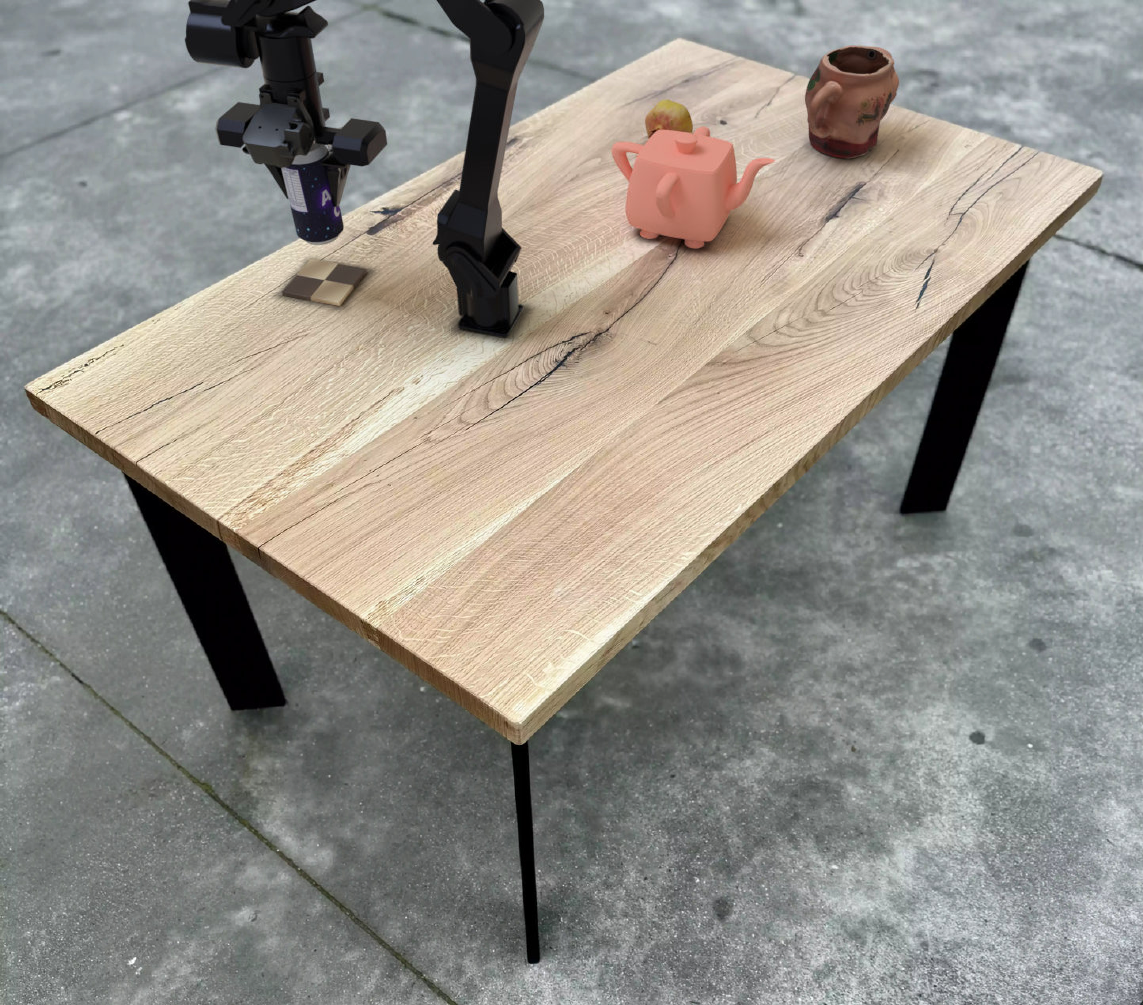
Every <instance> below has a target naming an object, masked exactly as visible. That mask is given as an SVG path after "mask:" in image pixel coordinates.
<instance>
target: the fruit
mask: <svg viewBox="0 0 1143 1005" xmlns="http://www.w3.org/2000/svg"><path fill="white" fill-rule="evenodd" d="M644 125H645V130H646V135H647V138H648V140H649V139H650V137H651V136H652V135H653V134H654V133H655V132H656V131H657V130H672V131H680V132H687V133H693V130H694V124H693V120H692V116H691V114H690V112H689V110H688V108H687V107H686V106H685V105H683V104H681V103H680V102H677V101H674V100H671V99H662V100H660V101H658V102H657V103H656V104H655V105H654V107H653V108H652V109H651V110H650V111H648V113H647V114H646V116H645V119H644Z"/></svg>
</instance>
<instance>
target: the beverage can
mask: <svg viewBox="0 0 1143 1005" xmlns="http://www.w3.org/2000/svg"><path fill="white" fill-rule="evenodd" d="M328 155H329V150H328V146H327V145H322V144H316V143H313V144H312V146H311V148H310V150H309V152H308V154H307V155H306V156H302V155H297V156H296V157H295V158H294V161H293V163H292V164H291V165H290V166H288V167H285V168H281V169H282V173H283V178H284V182H285V186H286V190H287V194H288V199H287V200H288V202H289V207H290V212H291V215H292V219H293V224H294V227H295V232H296V235H297V237H298V238H299V239H300V240H303V241H305V242H306V243H307V244H309V245H313V246H325V245H328V244H331V243H333V242H334V241H336V240H337V239H338V238H339V236H340V235H341V233H342V232H343V231H344V228H345V226H344V220H343V215H342V211H341V205H340V204H339V205H338V206H337V207H334V206H333V203H332V200H331V195H330V188H329V181H328V174H327V170H326V169H325V168H324V167H323V166H322V165H321V162H322V161H323V160H324V159H325V158H326V157H327V156H328Z"/></svg>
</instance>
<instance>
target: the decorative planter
mask: <svg viewBox="0 0 1143 1005" xmlns="http://www.w3.org/2000/svg"><path fill="white" fill-rule="evenodd" d="M899 86H900V77H899V75H898V74H897V72H896V69H895V60H894V58H893V56H892V53H891V52H889V51H888V50H887V49H884V48H882V47H880V46H866V45H853V44H851V45H847V46H843V47H840V48H836V49H833V50H831V51H828V52H827V53H826V54H824V55H823V56H822V57H821V59H820V61H819V63H818V66H817V67H816V68H815V70H814V72H813V73H812V75H811V77H810V78H809V80H808V83H807V85H806V89H805V93H804V103H805V109H806V113H807V118H806V119H807V124H808V125H807V126H808V139H809V144H810V146H811V147H812V148H813V149H815V150H816V151H817V152H821V153H822V154H824V155H827V156H832V157H835V158H841V159H855V158H858V157H861V156H864V155H866V154H868V153H869V152H870V151H871V150H872V149H873V148H875V147H876V146H877V144H878V138H879V130H880V126H881V122H882V120H883V119H884V118H885V116H886V115H887V113H888V112H889V109H890V106H891V104H892V102H894V100H895V99H896V97H897V92H898V90H899V89H898V88H899Z"/></svg>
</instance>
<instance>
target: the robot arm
mask: <svg viewBox="0 0 1143 1005" xmlns="http://www.w3.org/2000/svg"><path fill="white" fill-rule="evenodd" d="M316 1H317V0H189V1H188V2H187V4H188V8H189V14H188V16H187V19H186V24H185V37H184V43H185V47H186V50H187V53H188V54H189V57H190V58H191V59H192V60H193V61H194V62H196V63H199V64H207V65H215V66H222V67H232V68H238V69H239V68H240V69H249V68H250V67H252V66H253V64H254V63H255V61H256V60H258V59H259V63H260V67H261V72H262V78H263V82H264V84H262V85H261V86H260V87H259V88H258V91H259V93H258V99H259V104H255V103H249V102H242V101H238V102H236V103H235V104H234V105H233V106H232V107H230V108H229V109H228V110H227V111H225V112H224V113H223V114H221V116H220V117H219V118H217V120H216V124H215V127H214V128H215V134H216V137H217V141H218V143H219V145H220V146H225V147H232V148H239V149H241V150H242V152H243V153H244V154H245V155H250V157H251V160H252V161H253V163H254V164H257V165H263V164H264V166H265V167H266V168H267V170H268V171H269V173H270V174H271V176H272V177H273V179H274V181H275V182H276V184H277V186H278V187H279V189H280V190H281V192H282V194H283V195H284V197H285V198H286V199H287V200H289V199H288V194H287V190H286V186H285V182H284V178H283V173H282V169H281V168H285V167H288V166H290V165H291V164H292V163H293V161H294V158H295V157H296V156H297V155H302V156H306V155H307V154H308V152H309V150H310V148H311V146H312V144H313V143H316V144H322V145H325V146H327V148H328V150H329V155H328V156H327V157H326V158H325V159H324V160H323V161H322V162H321V165H322V166H323V167H324V168H325V169H326V170H327V174H328V181H329V188H330V195H331V200H332V203H333V206H334V207H337V206H338V205H340V204H341V202H342V198H343V194H344V190H345V187H346V184H347V179H348V176H349V172H350V169H351V166H357V167H366V166H369V165H371V163H373V161H374V160H375V159H376V158H377V156H379V154H380V153H381V152H382V151H383V150H384V149H385V148H386V147H387V146H388V138H387V131H386V129H385V127H384V126H383V125H382V124H381V123H380V122H379V121H373V120H366V119H360V118H353V117H352V118H350V119H349V120H348V121H347V122H346V123H345V124H344V125H343V126H341V127H339V128H337V127H331V126H326V122H327V121H328V120H329V119H330V118H331V114H330V108H328V107H323V101H322V96H321V89H320V86H322V84H324V83H325V78H324V77H325V76H324V72H321V71H317V67H316V60H315V53H314V48H313V43H312V39H315V38H316V37H317V36H319V34H321V33H322V32H323V31H324V30H325V29H326V28H328V26H329V21H328V20H327V19H326V18H325V17H323V16H322V15H321V14H319V13H317V12H316V11H315V10H314V9H313V8H312V6H310V5H309V4H311V3H313V2H316ZM436 3H438V5H439V6H440V8H441V9H442V11H443V12H444V14H445V15H446V16H447V18H448V19H449V21H450V23H451V24H452V25H453V26H454V28H457V29H458V30H459V31H460V32H461V33H462V34H464V35H465V36H466V37H467V38H468V39H469V58H470V63H471V66H472V70H473V75H474V78H475V87H474V93H473V101H472V105H471V111H470V112H471V113H470V118H469V124H468V125H469V126H468V132H467V139H466V144H465V152H464V157H463V163H462V170H461V176H460V184H459V190H458V189H456V188H455V189H454V190H453V191H452V193H451V195H450V196H449V197H448V199H447V200H446V202H445V203H444V204H443V206H442V207H441V208H440V210H439V211H438V213H437V217H436V235H435V238H434V239H433V241H432V245H433V246H437V249H436V250H437V252H436V253H437V257H438V260H439V261H440V262H442V264H443V265H444V267H446V268H447V271H448V272H449V275H450V277H451V279H452V281H453V283H454V286H455V288H456V298H457V310H458V315H459V317H461V318H460V319H459V321H458V322H457V328H458V329H459V330H464V331H470V332H475V333H480V334H485V335H490V336H495V337H501V338H507V337H509V335H510V334H511V332H512V330H513V328H514V327H515V325H516V324H517V322H518V320H519V319H520V317H521V315H522V313H523V312H524V305H523V304H520V303H519V287H518V272H515V271H512V268H513V266H514V265H515V263H517V261H518V259H519V256H520V254H521V251H522V246H521V244H519V243H518V242H517V241H516V240H515V239H514V238H513V236H511V235H510V234H509V233H508V232H507V231H506V230H505V229H504V227H503V209H502V207H501V203H500V199H499V195H498V194H499V186H500V180H501V176H502V170H503V166H504V159H505V154H506V149H507V145H508V144H507V143H508V139H509V138H508V137H509V133H510V127H511V122H512V116H513V111H514V105H515V100H516V96H517V88H518V84H519V80H520V77H521V75H522V73H523V70H524V69H525V66H526V64H527V63H528V62H527V61H528V59H529V58H530V55H531V53H532V51H533V48H534V46H535V43H536V41H537V38H538V36H539V34H540V32H541V28H542V26H543V23H544V20H545V6H544V3H543V1H542V0H483V1H481V0H436ZM300 8H302V9H301V10H300V11H299V12H298V11H295V10H297V9H300Z"/></svg>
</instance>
